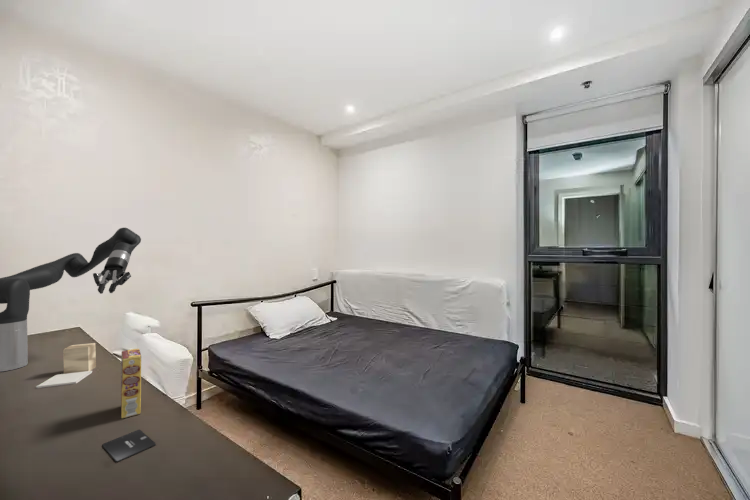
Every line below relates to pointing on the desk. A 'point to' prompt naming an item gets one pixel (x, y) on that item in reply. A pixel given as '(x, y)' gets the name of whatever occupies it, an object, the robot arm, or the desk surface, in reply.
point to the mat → (64, 379)
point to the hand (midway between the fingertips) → (105, 292)
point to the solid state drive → (128, 445)
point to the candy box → (130, 383)
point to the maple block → (79, 358)
